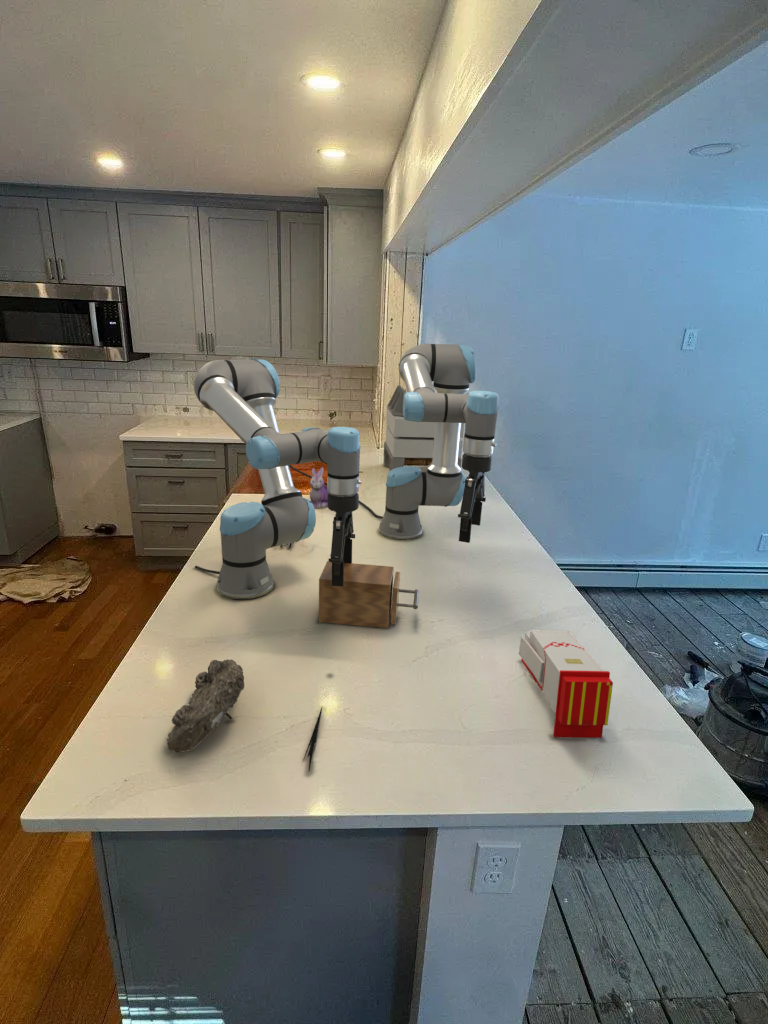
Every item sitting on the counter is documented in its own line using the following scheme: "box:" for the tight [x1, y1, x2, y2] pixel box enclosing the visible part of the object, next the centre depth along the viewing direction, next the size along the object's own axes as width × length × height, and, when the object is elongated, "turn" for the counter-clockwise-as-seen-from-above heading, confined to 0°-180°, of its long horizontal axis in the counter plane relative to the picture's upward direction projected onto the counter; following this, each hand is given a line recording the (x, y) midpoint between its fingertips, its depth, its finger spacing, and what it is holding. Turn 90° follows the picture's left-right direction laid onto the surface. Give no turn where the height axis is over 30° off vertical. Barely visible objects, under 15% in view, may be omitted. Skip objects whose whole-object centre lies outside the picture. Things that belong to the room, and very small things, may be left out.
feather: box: [301, 673, 332, 771], centre depth 108 cm, size 2×28×2 cm
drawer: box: [390, 571, 420, 625], centre depth 144 cm, size 21×9×10 cm, turn 85°
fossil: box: [166, 658, 245, 754], centre depth 106 cm, size 22×10×15 cm
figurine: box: [309, 466, 329, 509], centre depth 223 cm, size 9×10×15 cm
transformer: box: [383, 384, 465, 471], centre depth 268 cm, size 34×33×41 cm
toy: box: [518, 629, 614, 739], centre depth 118 cm, size 12×13×30 cm
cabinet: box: [318, 560, 395, 629], centre depth 144 cm, size 17×10×12 cm, turn 84°
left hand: (342, 573), depth 142 cm, fingers open, 13 cm apart
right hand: (469, 532), depth 149 cm, fingers open, 13 cm apart
